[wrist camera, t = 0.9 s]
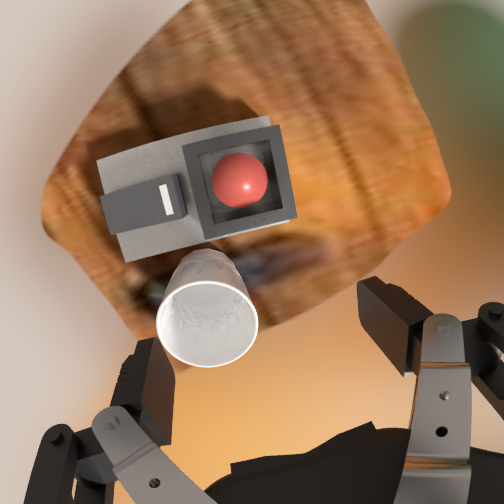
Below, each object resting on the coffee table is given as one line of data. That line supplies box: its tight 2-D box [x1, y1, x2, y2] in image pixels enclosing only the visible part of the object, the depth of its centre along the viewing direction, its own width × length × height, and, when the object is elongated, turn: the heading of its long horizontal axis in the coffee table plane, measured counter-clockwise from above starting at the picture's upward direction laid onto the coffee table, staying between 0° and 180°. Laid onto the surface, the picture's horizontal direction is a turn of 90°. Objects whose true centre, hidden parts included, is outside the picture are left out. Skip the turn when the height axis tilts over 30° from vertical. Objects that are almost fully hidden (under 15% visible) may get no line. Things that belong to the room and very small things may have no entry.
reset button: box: [212, 153, 268, 208], centre depth 24 cm, size 4×4×1 cm
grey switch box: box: [97, 115, 297, 263], centre depth 26 cm, size 10×16×7 cm, turn 102°
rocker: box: [100, 173, 188, 235], centre depth 24 cm, size 4×7×2 cm, turn 102°
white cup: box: [156, 248, 258, 367], centre depth 27 cm, size 8×8×10 cm
